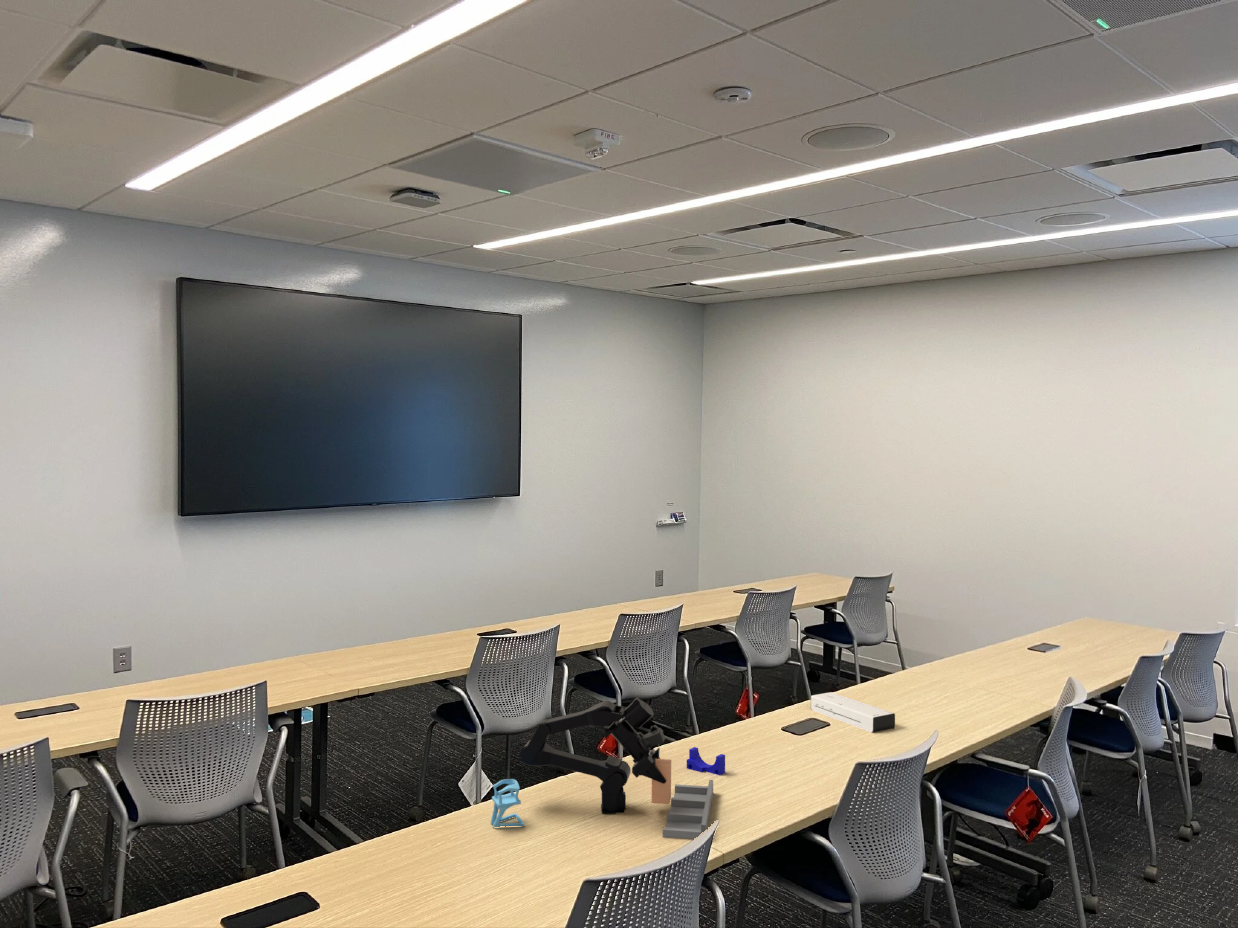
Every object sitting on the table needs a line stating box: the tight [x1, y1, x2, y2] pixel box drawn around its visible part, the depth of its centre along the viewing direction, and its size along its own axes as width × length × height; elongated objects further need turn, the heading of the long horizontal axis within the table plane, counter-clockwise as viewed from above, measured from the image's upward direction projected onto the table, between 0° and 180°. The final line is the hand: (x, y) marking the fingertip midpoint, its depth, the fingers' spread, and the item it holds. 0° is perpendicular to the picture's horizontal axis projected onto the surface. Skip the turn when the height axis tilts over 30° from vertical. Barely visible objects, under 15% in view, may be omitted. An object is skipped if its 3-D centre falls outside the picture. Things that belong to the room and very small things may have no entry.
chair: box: [490, 778, 525, 827], centre depth 247 cm, size 8×8×12 cm
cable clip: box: [686, 746, 726, 776], centre depth 289 cm, size 12×4×6 cm, turn 51°
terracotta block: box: [650, 758, 672, 805], centre depth 254 cm, size 5×5×11 cm
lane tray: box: [662, 779, 714, 840], centre depth 253 cm, size 12×33×4 cm, turn 170°
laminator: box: [810, 691, 896, 734], centre depth 345 cm, size 34×12×6 cm, turn 30°
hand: (666, 778), depth 254 cm, fingers closed on terracotta block, 5 cm apart
